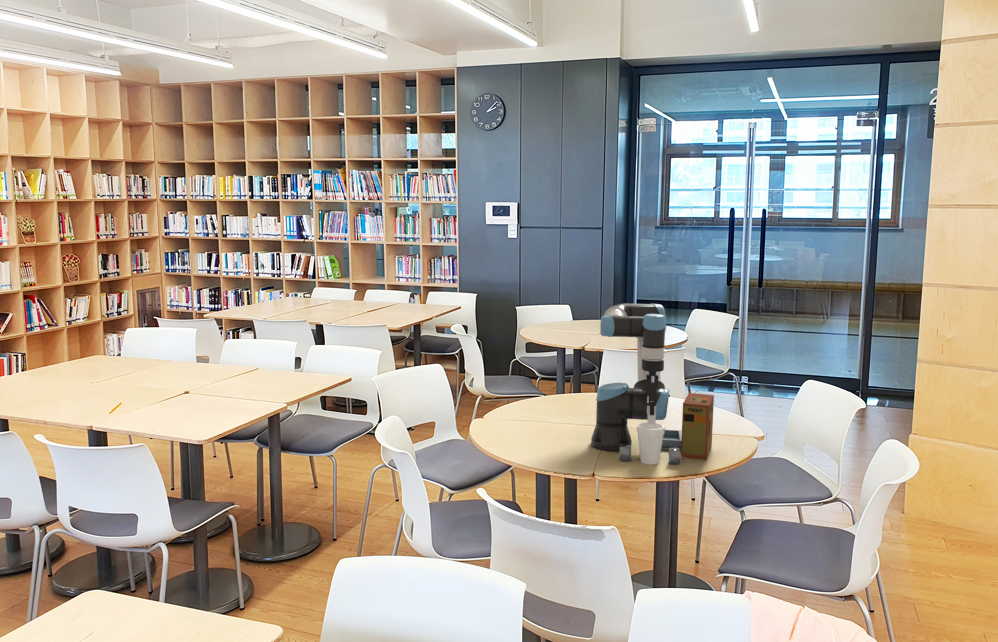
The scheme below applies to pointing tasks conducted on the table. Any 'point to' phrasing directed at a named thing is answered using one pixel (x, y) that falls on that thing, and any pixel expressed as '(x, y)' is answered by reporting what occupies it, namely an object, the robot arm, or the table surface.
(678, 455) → the shiny gray cylinder
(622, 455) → the metal cylinder
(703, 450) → the box
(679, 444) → the tray
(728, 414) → the table surface
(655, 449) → the foam cup
